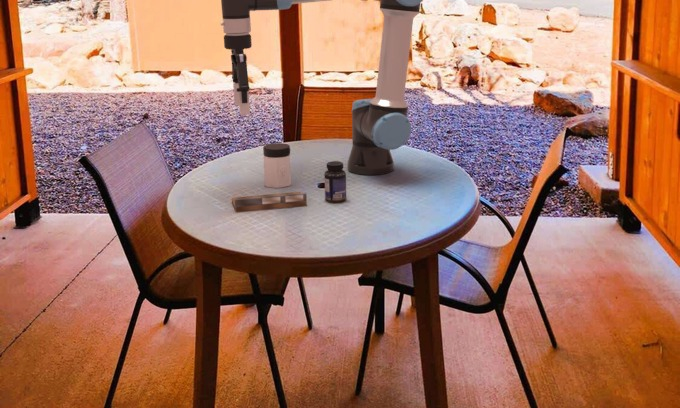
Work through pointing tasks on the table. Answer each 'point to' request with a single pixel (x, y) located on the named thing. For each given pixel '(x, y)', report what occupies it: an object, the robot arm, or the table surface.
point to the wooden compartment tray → (269, 201)
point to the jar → (277, 165)
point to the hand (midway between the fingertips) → (242, 109)
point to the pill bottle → (335, 182)
